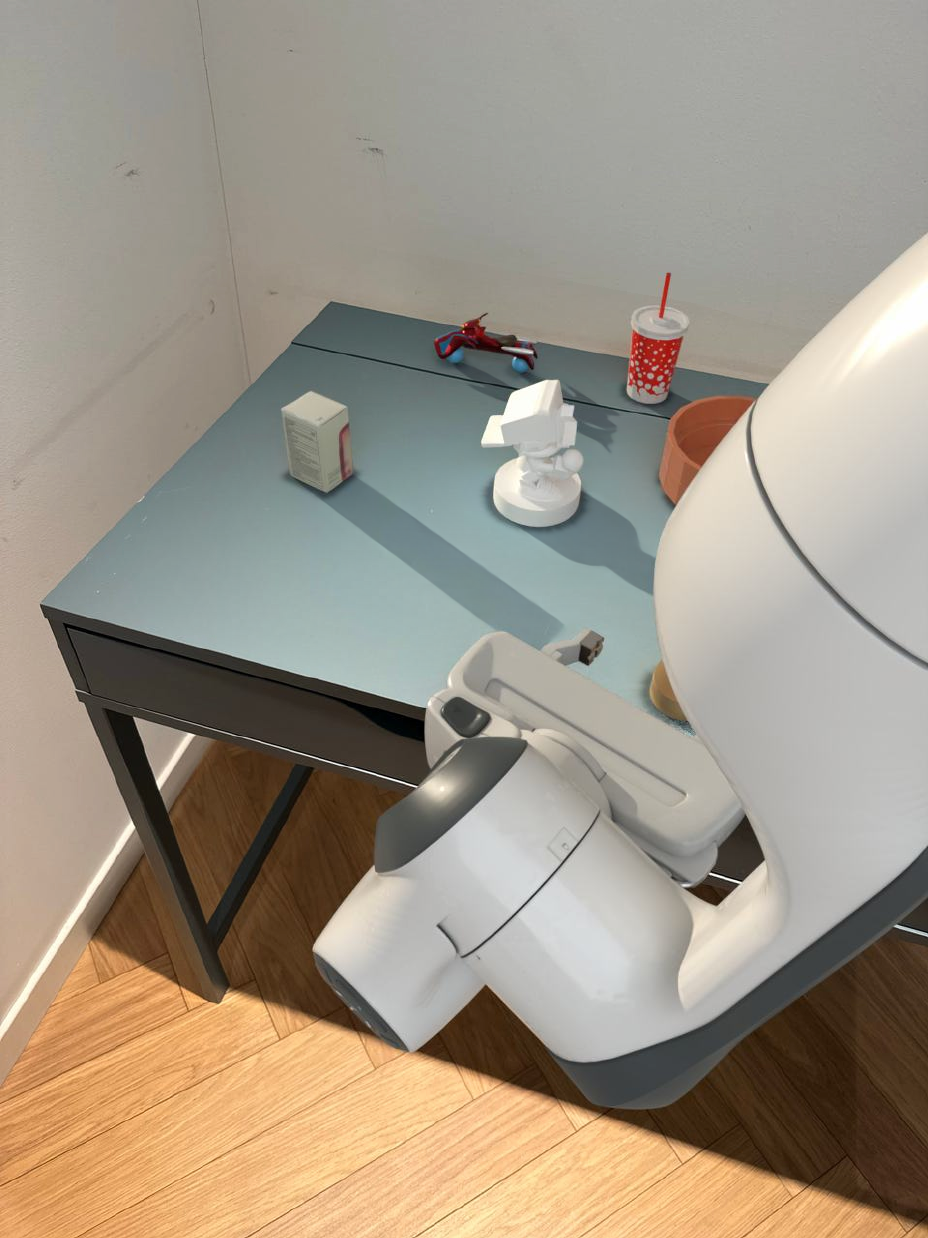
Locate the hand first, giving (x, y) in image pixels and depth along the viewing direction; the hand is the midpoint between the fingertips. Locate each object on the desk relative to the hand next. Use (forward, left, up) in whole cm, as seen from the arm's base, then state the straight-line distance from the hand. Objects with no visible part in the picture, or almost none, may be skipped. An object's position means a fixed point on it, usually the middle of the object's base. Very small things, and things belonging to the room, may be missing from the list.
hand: (653, 670), depth 65 cm
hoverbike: (+39, -41, -10) cm, 58 cm away
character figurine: (+22, -23, -10) cm, 34 cm away
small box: (+41, -14, -10) cm, 45 cm away
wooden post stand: (-1, -8, -10) cm, 13 cm away
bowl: (+6, -36, -10) cm, 38 cm away
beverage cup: (+21, -47, -10) cm, 52 cm away
